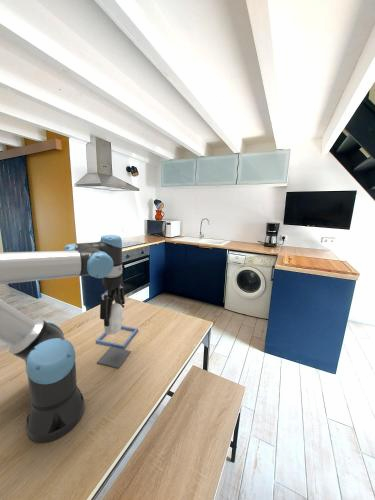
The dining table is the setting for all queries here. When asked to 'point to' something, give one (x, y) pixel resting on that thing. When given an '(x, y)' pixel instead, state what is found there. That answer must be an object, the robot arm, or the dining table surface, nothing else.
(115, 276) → the robot arm
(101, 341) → the cradle
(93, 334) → the dining table surface
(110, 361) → the mat
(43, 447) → the dining table surface
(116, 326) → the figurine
